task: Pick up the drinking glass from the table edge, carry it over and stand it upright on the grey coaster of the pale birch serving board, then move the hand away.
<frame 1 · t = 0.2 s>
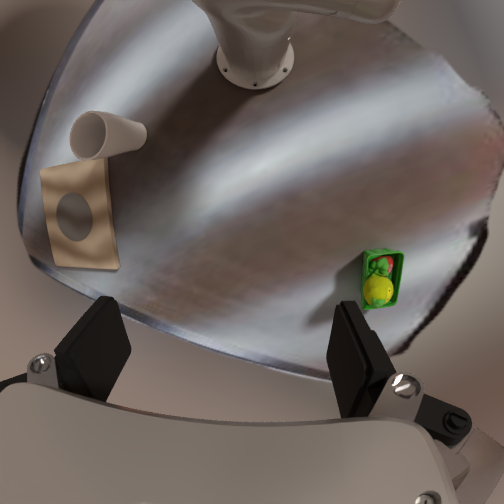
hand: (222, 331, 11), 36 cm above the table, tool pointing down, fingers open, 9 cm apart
fruit basket: (370, 270, 50), on the table
drinking glass: (135, 136, 41), on the table
serving board: (77, 215, 47), on the table
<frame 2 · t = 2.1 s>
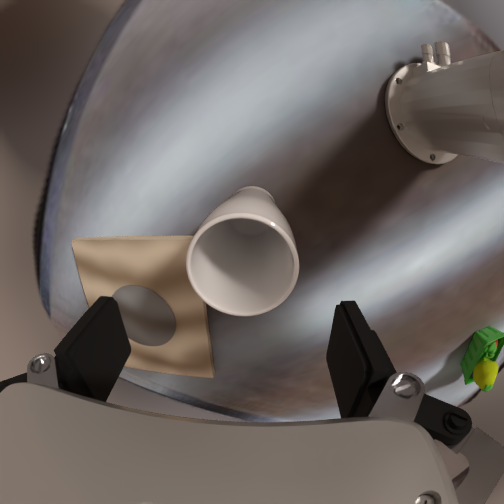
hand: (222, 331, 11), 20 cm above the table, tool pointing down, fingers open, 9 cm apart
fruit basket: (473, 345, 37), on the table
drinking glass: (252, 208, 30), on the table
serving board: (145, 311, 35), on the table
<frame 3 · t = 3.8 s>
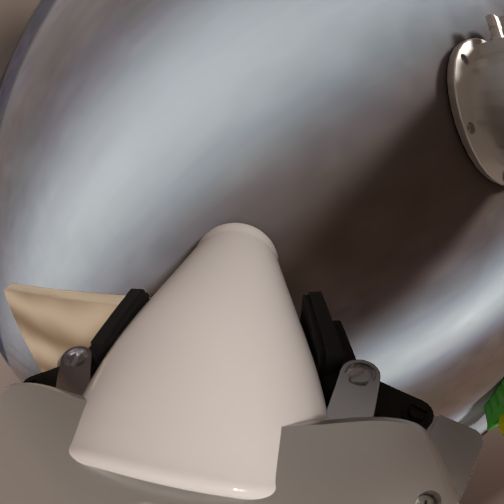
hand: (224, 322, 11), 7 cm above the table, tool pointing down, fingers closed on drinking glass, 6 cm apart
fruit basket: (499, 388, 26), on the table
drinking glass: (236, 258, 18), on the table, touching gripper
serving board: (102, 379, 23), on the table
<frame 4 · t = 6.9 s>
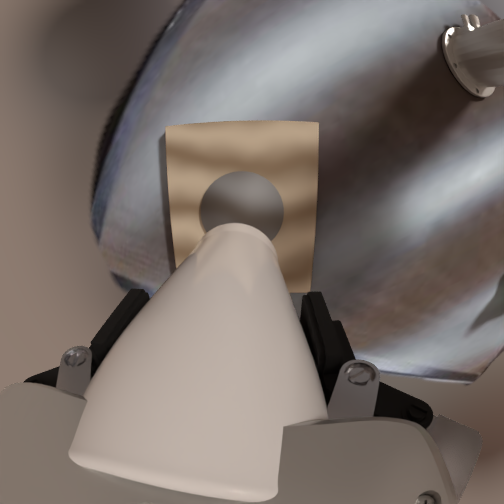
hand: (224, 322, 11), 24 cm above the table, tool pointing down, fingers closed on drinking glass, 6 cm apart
drinking glass: (236, 259, 18), point 17 cm above the table, touching gripper
serving board: (242, 209, 34), on the table
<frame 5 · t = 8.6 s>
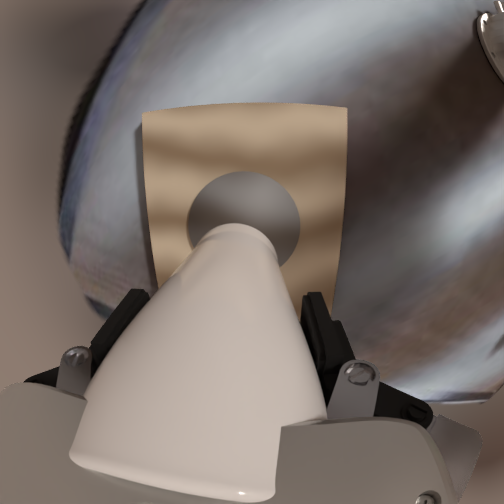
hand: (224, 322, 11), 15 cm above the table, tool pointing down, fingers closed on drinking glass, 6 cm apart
drinking glass: (235, 259, 18), point 9 cm above the table, touching gripper
serving board: (244, 222, 26), on the table
when the fingers open (10 cm above the table, at t = 10.2 s): drinking glass drops 1 cm, resting on serving board.
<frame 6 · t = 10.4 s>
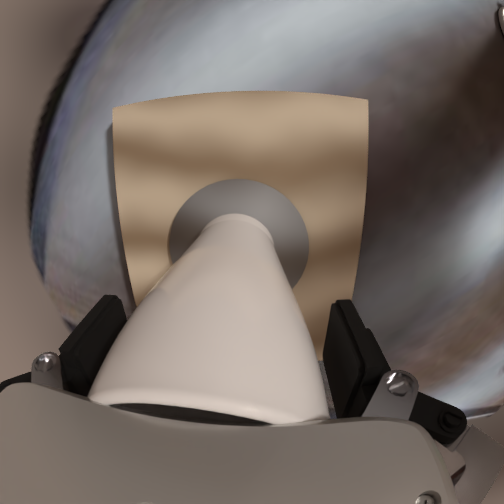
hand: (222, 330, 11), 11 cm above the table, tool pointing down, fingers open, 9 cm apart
drinking glass: (236, 247, 19), point 2 cm above the table, touching serving board
serving board: (239, 242, 21), on the table
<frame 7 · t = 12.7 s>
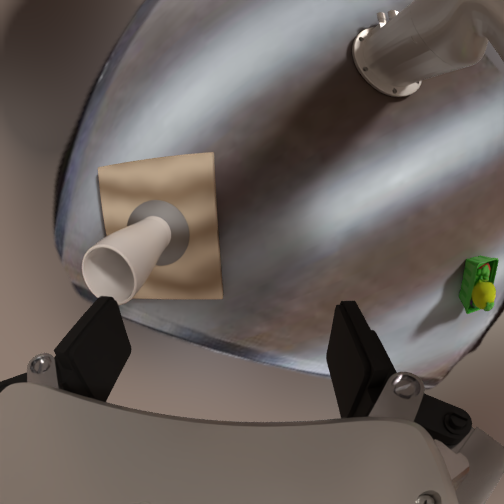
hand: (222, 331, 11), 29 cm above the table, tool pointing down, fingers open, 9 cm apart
fruit basket: (467, 276, 43), on the table
drinking glass: (155, 232, 38), point 2 cm above the table, touching serving board
serving board: (160, 230, 40), on the table
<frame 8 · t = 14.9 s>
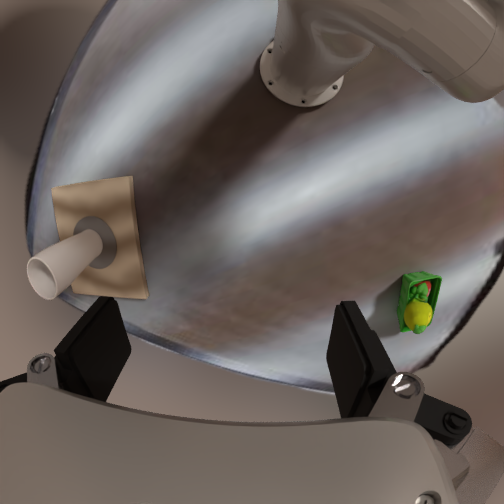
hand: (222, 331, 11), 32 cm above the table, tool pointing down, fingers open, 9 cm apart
fruit basket: (407, 292, 47), on the table
drinking glass: (93, 241, 42), point 2 cm above the table, touching serving board
serving board: (98, 240, 44), on the table
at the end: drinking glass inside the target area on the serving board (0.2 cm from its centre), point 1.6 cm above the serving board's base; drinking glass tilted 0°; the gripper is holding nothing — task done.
